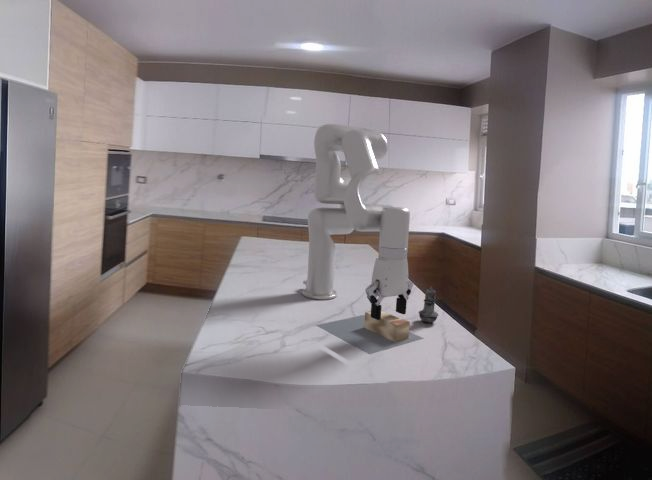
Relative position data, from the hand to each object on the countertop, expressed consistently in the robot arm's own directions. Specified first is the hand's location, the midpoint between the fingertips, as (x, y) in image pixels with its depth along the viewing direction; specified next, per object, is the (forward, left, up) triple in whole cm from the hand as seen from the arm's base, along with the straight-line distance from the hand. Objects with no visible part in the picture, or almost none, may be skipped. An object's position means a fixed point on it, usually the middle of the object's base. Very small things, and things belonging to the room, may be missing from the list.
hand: (388, 315), depth 111 cm
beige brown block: (-1, 0, -5) cm, 5 cm away
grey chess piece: (-1, +18, -6) cm, 19 cm away
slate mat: (-4, -3, -6) cm, 8 cm away
